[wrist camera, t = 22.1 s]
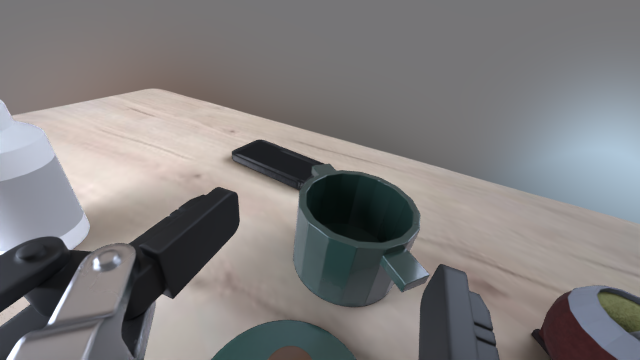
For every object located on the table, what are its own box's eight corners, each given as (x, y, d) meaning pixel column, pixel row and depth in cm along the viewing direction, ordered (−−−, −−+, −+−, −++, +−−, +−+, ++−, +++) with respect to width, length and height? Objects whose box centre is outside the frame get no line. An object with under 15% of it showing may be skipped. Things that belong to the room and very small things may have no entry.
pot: (349, 203, 37) (361, 154, 33) (436, 308, 25) (473, 253, 21) (273, 219, 32) (275, 164, 28) (333, 358, 20) (353, 299, 16)
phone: (304, 186, 37) (228, 152, 43) (303, 192, 38) (229, 158, 43) (329, 165, 43) (260, 138, 49) (328, 171, 44) (260, 143, 49)
